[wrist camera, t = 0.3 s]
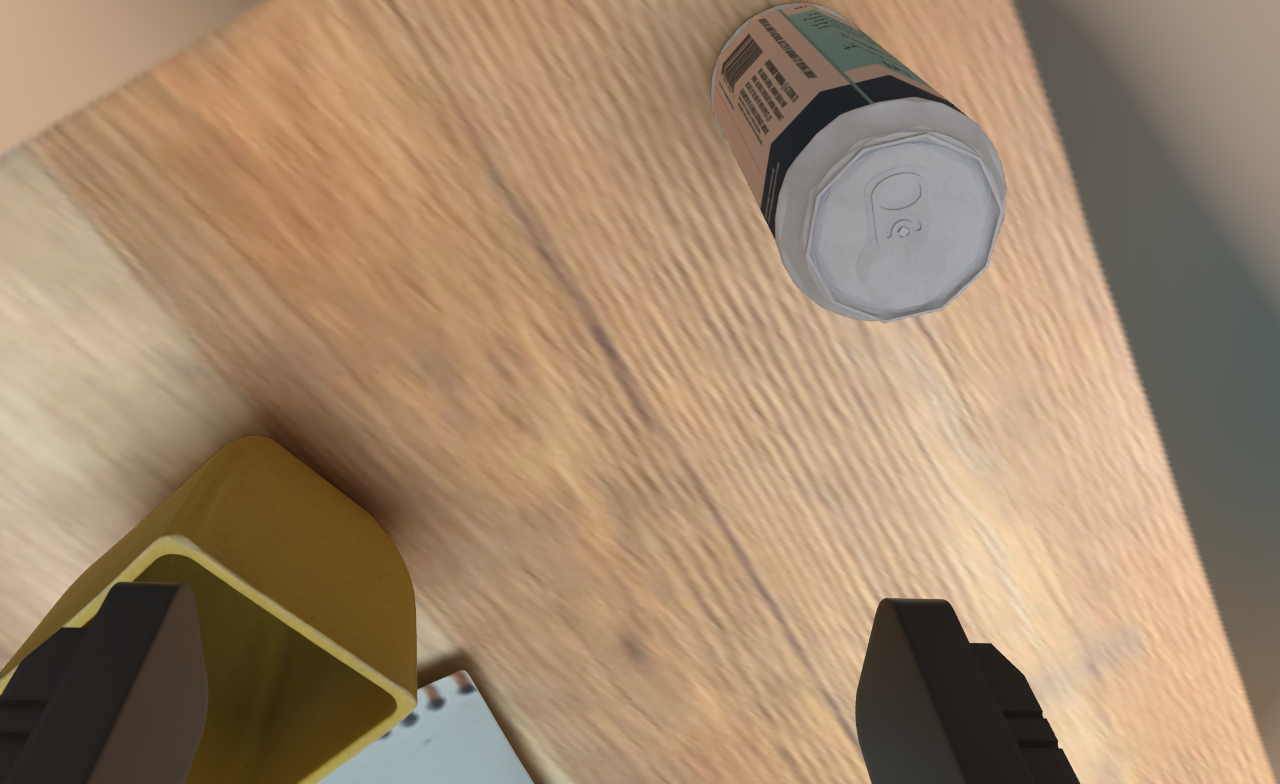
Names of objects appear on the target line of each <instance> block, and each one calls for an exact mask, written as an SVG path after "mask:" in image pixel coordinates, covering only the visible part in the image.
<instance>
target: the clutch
mask: <svg viewBox="0 0 1280 784" xmlns="http://www.w3.org/2000/svg"><path fill="white" fill-rule="evenodd" d="M417 700H418V703H417V706H416V707H415V709H414V710H413V711H412V712H411V713H410V714H409V715H408V716H407V717H406V718H405V719H403V720H402V721H401V722H400V723H399V724H398V725H396V726H395V727H394V728H393V729H391V730H390V731H389V732H387V733H386V734H385V735H383V736H382V737H380V738H379V739H378V740H376V741H375V742H373V743H372V744H370V745H369V746H367V747H366V748H365V749H363V750H362V751H361V752H359V753H358V754H357V755H356V756H354V757H353V758H351V759H350V760H348V761H347V762H346V763H344V764H343V765H341V766H340V767H339V768H337V769H336V770H334V771H333V772H332V773H330V774H329V775H328V776H327V777H325V778H324V779H323V780H321V781H320V782H319V783H317V784H534V782H533V781H532V779H531V778H530V776H529V774H528V773H527V771H526V770H525V768H524V767H523V765H522V763H521V762H520V760H519V758H518V757H517V755H516V753H515V752H514V750H513V749H512V747H511V745H510V744H509V742H508V740H507V739H506V737H505V735H504V733H503V732H502V730H501V728H500V727H499V725H498V723H497V722H496V720H495V718H494V717H493V715H492V713H491V711H490V710H489V708H488V706H487V705H486V703H485V701H484V699H483V698H482V696H481V694H480V693H479V691H478V689H477V687H476V686H475V684H474V683H473V681H472V679H471V678H470V676H469V675H468V673H467V672H466V671H465V670H461V671H458V672H455V673H453V674H451V675H449V676H446V677H444V678H442V679H440V680H437V681H435V682H433V683H431V684H429V685H426V686H424V687H422V688H420V689H417Z"/></svg>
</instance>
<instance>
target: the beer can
mask: <svg viewBox="0 0 1280 784" xmlns="http://www.w3.org/2000/svg"><path fill="white" fill-rule="evenodd" d="M711 104H712V111H713V114H714V118H715V121H716V123H717V125H718V127H719V129H720V131H721V133H722V135H723V137H724V138H725V139H726V140H727V142H728V143H729V145H730V147H731V150H732V152H733V154H734V156H735V158H736V160H737V162H738V164H739V166H740V168H741V170H742V172H743V174H744V176H745V179H746V181H747V183H748V185H749V187H750V189H751V191H752V193H753V195H754V197H755V199H756V201H757V203H758V205H759V208H760V210H761V212H762V214H763V216H764V218H765V220H766V222H767V224H768V226H769V228H770V230H771V232H772V234H773V237H774V239H775V241H776V244H777V247H778V250H779V253H780V256H781V259H782V263H783V265H784V267H785V268H786V270H787V272H788V274H789V275H790V277H791V279H792V280H793V282H794V283H795V284H796V286H797V287H798V288H799V289H800V290H801V291H802V292H803V293H804V294H805V295H806V296H808V297H809V298H810V299H812V300H813V301H814V302H815V303H817V304H818V305H819V306H821V307H823V308H825V309H827V310H830V311H832V312H835V313H837V314H840V315H842V316H845V317H849V318H852V319H858V320H865V321H880V322H882V323H887V322H891V321H896V320H900V319H904V318H909V317H913V316H917V315H922V314H926V313H931V312H935V311H939V310H943V309H944V308H945V307H946V306H947V305H948V304H949V303H950V302H951V301H953V300H954V299H955V298H956V297H957V296H958V295H959V294H960V293H961V292H962V291H963V290H964V289H965V288H967V287H968V286H969V285H970V284H971V283H972V282H973V281H974V280H975V279H976V278H977V277H978V276H979V275H980V274H982V273H983V272H984V271H985V270H986V269H987V268H988V266H989V263H990V259H991V255H992V252H993V248H994V245H995V241H996V239H997V236H998V234H999V231H1000V228H1001V226H1002V223H1003V220H1004V214H1005V203H1006V191H1007V188H1006V183H1005V177H1004V172H1003V166H1002V163H1001V160H1000V158H999V156H998V154H997V151H996V149H995V147H994V145H993V143H992V142H991V140H990V139H989V138H988V136H987V135H986V134H985V133H984V132H983V130H982V129H981V128H980V127H979V125H978V124H976V123H975V122H974V121H973V120H972V119H970V118H969V117H968V116H966V115H965V114H964V113H963V112H961V111H960V110H959V109H958V108H956V107H955V106H954V105H953V104H952V103H950V102H949V101H948V100H947V99H945V98H944V97H943V96H942V95H940V94H939V93H938V92H937V91H935V90H934V89H933V88H932V87H930V86H929V85H928V84H927V83H925V82H924V81H923V80H922V79H921V78H919V77H918V76H917V75H916V74H914V73H913V72H912V71H911V70H909V69H908V68H907V67H906V66H904V65H903V64H902V63H901V62H899V61H898V60H897V59H896V58H895V57H893V56H892V55H891V54H890V53H888V52H887V51H886V50H885V49H883V48H882V47H881V46H880V45H878V44H877V43H876V42H875V41H873V40H872V39H871V38H870V37H869V36H867V35H866V34H865V33H864V32H862V31H861V30H860V29H859V28H857V27H856V26H855V25H854V24H852V23H851V22H850V21H849V20H847V19H846V18H845V17H844V16H842V15H840V14H838V13H836V12H834V11H832V10H831V9H829V8H827V7H824V6H820V5H815V4H810V3H792V4H784V5H779V6H776V7H773V8H771V9H768V10H765V11H762V12H760V13H759V14H757V15H755V16H754V17H752V18H750V19H749V20H748V21H746V22H745V23H744V24H743V25H742V26H740V27H739V28H738V29H737V31H736V32H735V33H734V34H733V36H732V37H731V38H730V39H729V41H728V42H727V43H726V44H725V46H724V47H723V49H722V51H721V53H720V55H719V57H718V59H717V62H716V66H715V69H714V72H713V76H712V85H711Z"/></svg>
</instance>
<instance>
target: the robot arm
mask: <svg viewBox="0 0 1280 784" xmlns="http://www.w3.org/2000/svg"><path fill="white" fill-rule="evenodd" d="M207 708H208V679H207V672H206V666H205V660H204V653H203V647H202V641H201V635H200V628H199V622H198V616H197V610H196V603H195V598H194V593H193V590H192V588H191V586H190V585H189V584H188V583H172V582H117V583H116V584H114V585H113V587H112V588H111V589H110V591H109V592H108V594H107V596H106V598H105V599H104V601H103V603H102V605H101V607H100V609H99V610H98V612H97V614H96V616H95V618H94V619H93V621H92V623H91V625H90V627H89V628H78V627H61V628H60V629H59V630H58V631H57V632H55V633H54V634H53V635H52V636H51V637H49V638H48V639H47V640H46V641H45V642H43V643H42V644H41V645H40V646H39V647H37V648H36V649H35V650H34V651H33V652H31V653H30V654H29V655H28V656H27V657H25V658H24V659H23V660H22V661H21V662H20V664H19V666H18V667H17V669H16V671H15V672H14V674H13V676H12V677H11V679H10V680H9V682H8V684H7V685H6V687H5V689H4V690H3V692H2V694H1V695H0V784H184V783H185V781H186V778H187V775H188V773H189V770H190V767H191V764H192V762H193V759H194V756H195V754H196V751H197V748H198V746H199V743H200V740H201V737H202V734H203V730H204V726H205V721H206V715H207ZM1042 712H1043V711H1042V709H1041V707H1040V705H1039V703H1038V701H1037V699H1036V697H1035V695H1034V694H1033V692H1032V690H1031V688H1030V686H1029V684H1028V682H1027V680H1026V678H1025V676H1024V675H1023V674H1022V673H1021V672H1020V671H1019V670H1018V669H1017V668H1016V667H1015V666H1014V665H1013V664H1012V663H1011V662H1010V661H1009V660H1008V659H1007V658H1006V657H1005V656H1003V655H1002V654H1001V653H1000V652H999V651H998V650H997V649H996V648H995V647H994V646H993V645H992V644H991V643H969V641H968V639H967V637H966V635H965V632H964V630H963V628H962V626H961V624H960V622H959V620H958V618H957V616H956V613H955V611H954V609H953V608H952V606H951V605H950V603H949V602H948V601H946V600H944V599H900V598H885V599H883V600H882V601H881V602H880V604H879V606H878V608H877V611H876V615H875V619H874V623H873V627H872V631H871V635H870V639H869V644H868V648H867V652H866V656H865V660H864V664H863V668H862V672H861V676H860V680H859V684H858V689H857V695H856V712H855V713H856V728H857V734H858V739H859V743H860V747H861V750H862V754H863V757H864V760H865V763H866V766H867V770H868V773H869V776H870V779H871V782H872V784H1080V782H1079V780H1078V778H1077V777H1076V775H1075V773H1074V771H1073V769H1072V767H1071V765H1070V763H1069V761H1068V759H1067V757H1066V755H1065V753H1064V751H1063V749H1059V748H1058V740H1057V738H1056V736H1055V734H1054V732H1053V730H1052V728H1051V726H1050V724H1049V722H1048V721H1047V719H1046V718H1043V715H1042Z"/></svg>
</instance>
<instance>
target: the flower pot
mask: <svg viewBox="0 0 1280 784" xmlns="http://www.w3.org/2000/svg"><path fill="white" fill-rule="evenodd" d="M117 582H172V583H188V584H189V585H190V586H191V588H192V590H193V593H194V598H195V603H196V610H197V616H198V622H199V628H200V635H201V641H202V647H203V653H204V660H205V666H206V672H207V679H208V708H207V715H206V721H205V726H204V730H203V734H202V737H201V740H200V743H199V746H198V748H197V751H196V754H195V756H194V759H193V762H192V764H191V767H190V770H189V773H188V775H187V778H186V781H185V783H184V784H317V783H319V782H320V781H321V780H323V779H324V778H325V777H327V776H328V775H329V774H330V773H332V772H333V771H334V770H336V769H337V768H339V767H340V766H341V765H343V764H344V763H346V762H347V761H348V760H350V759H351V758H353V757H354V756H356V755H357V754H358V753H359V752H361V751H362V750H363V749H365V748H366V747H367V746H369V745H370V744H372V743H373V742H375V741H376V740H378V739H379V738H380V737H382V736H383V735H385V734H386V733H387V732H389V731H390V730H391V729H393V728H394V727H395V726H396V725H398V724H399V723H400V722H401V721H402V720H403V719H405V718H406V717H407V716H408V715H409V714H410V713H411V712H412V711H413V710H414V709H415V707H416V706H417V703H418V700H417V636H416V606H415V596H414V589H413V585H412V582H411V578H410V575H409V572H408V569H407V567H406V565H405V563H404V561H403V559H402V557H401V554H400V553H399V551H398V549H397V548H396V546H395V545H394V543H393V542H392V540H391V539H390V537H389V536H388V535H387V533H386V532H385V531H384V530H383V529H382V527H381V526H380V525H379V524H378V523H377V522H376V520H375V519H374V518H373V517H372V516H371V515H370V514H369V513H368V512H367V511H366V510H365V509H363V508H362V507H361V506H359V505H358V504H357V503H355V502H354V501H353V500H351V499H350V498H349V497H347V496H346V495H345V494H343V493H342V492H341V491H339V490H338V489H337V488H336V487H334V486H333V485H331V484H330V483H329V482H327V481H326V480H325V479H324V478H322V477H321V476H320V475H318V474H317V473H316V472H314V471H313V470H312V469H311V468H309V467H308V466H307V465H306V464H304V463H303V462H302V461H300V460H299V459H297V458H296V457H295V456H294V455H293V454H291V453H290V452H289V451H287V450H286V449H285V448H284V447H283V446H281V445H280V444H278V443H277V442H276V441H274V440H272V439H270V438H267V437H263V436H247V437H243V438H239V439H236V440H234V441H232V442H230V443H229V444H227V445H226V446H224V447H223V448H222V449H220V450H219V451H218V452H217V453H216V454H214V455H213V456H212V457H211V458H210V459H209V460H208V461H207V462H206V463H205V464H204V465H203V466H202V467H201V468H200V469H199V470H198V471H197V472H195V473H194V474H193V475H192V476H191V477H190V478H189V479H188V480H187V481H186V482H185V483H184V484H183V485H181V486H180V487H179V488H178V489H177V490H176V491H175V492H174V493H173V494H172V495H171V496H170V497H169V498H167V499H166V500H165V501H164V502H163V503H162V504H161V505H160V506H158V507H157V508H156V509H155V510H154V511H153V512H152V513H151V514H150V515H148V516H147V517H146V518H145V519H144V520H143V521H142V522H141V523H139V524H138V525H137V526H136V527H135V528H134V529H133V530H132V531H130V532H129V533H128V534H127V535H126V536H125V537H124V538H123V539H121V540H120V541H119V542H118V543H117V544H116V545H114V546H113V547H112V548H111V549H110V550H109V551H108V552H106V553H105V554H104V555H103V556H102V557H101V558H99V559H98V560H97V561H96V562H95V563H94V564H92V565H91V566H90V567H89V568H88V569H87V570H86V571H85V572H84V573H83V574H82V575H81V576H80V577H79V578H78V579H77V580H76V581H75V582H74V583H73V584H72V585H71V586H70V587H69V589H68V590H67V591H66V592H65V593H64V594H63V596H62V597H61V598H60V599H59V600H58V602H57V603H56V604H55V605H54V607H53V608H52V609H51V610H50V612H49V613H48V614H47V615H46V617H45V618H44V619H43V620H42V622H41V623H40V624H39V625H38V627H37V628H36V629H35V630H34V631H33V633H32V634H31V635H30V636H29V638H28V639H27V640H26V641H25V642H24V644H23V645H22V646H21V647H20V649H19V650H18V651H17V652H16V653H15V655H14V656H13V657H12V658H11V660H10V661H9V662H8V663H7V664H6V666H5V667H4V668H3V669H2V671H1V672H0V695H1V694H2V692H3V690H4V689H5V687H6V685H7V684H8V682H9V680H10V679H11V677H12V676H13V674H14V672H15V671H16V669H17V667H18V666H19V664H20V662H21V661H22V660H23V659H24V658H25V657H27V656H28V655H29V654H30V653H31V652H33V651H34V650H35V649H36V648H37V647H39V646H40V645H41V644H42V643H43V642H45V641H46V640H47V639H48V638H49V637H51V636H52V635H53V634H54V633H55V632H57V631H58V630H59V629H60V628H61V627H78V628H89V627H90V625H91V623H92V621H93V619H94V618H95V616H96V614H97V612H98V610H99V609H100V607H101V605H102V603H103V601H104V599H105V598H106V596H107V594H108V592H109V591H110V589H111V588H112V587H113V585H114V584H116V583H117Z"/></svg>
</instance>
